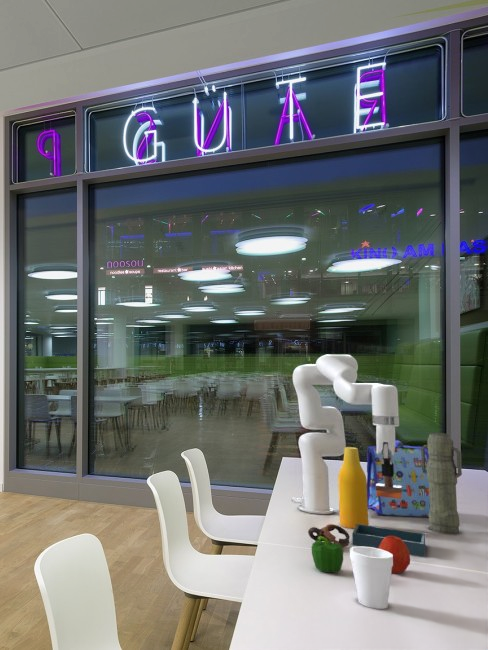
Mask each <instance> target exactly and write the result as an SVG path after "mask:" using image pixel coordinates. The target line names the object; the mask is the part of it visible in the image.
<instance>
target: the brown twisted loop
mask: <svg viewBox="0 0 488 650" xmlns="http://www.w3.org/2000/svg"><path fill="white" fill-rule="evenodd" d="M335 530H337V532H338V534H342V535H344V536H345V538H338V540H336V537H337V536H335V535H334V534H333V533H332V532H333V531H335ZM307 533H308V536H309V538H310V539H311V540H313V541H314V542H316V541H317V540H319V539H318V538H317V537H319V536H322V537H325V538H326V539H327V541H330V542H332V543H334V544H339V545H341V547H342V549H345V548H347V547H348V546H349V545H350V534H349V532H348V531H347V530H346V529H345V528H344V527H342V526H340V525H336V524H333V523H331V524H330V523H329V524H326V525H325V526H323V527H322V528H318V527H315V526H313V527H310V528H309V529H308V531H307ZM315 534H316V535H315ZM320 541H322V542H324V540H323V539H321V540H320Z"/></svg>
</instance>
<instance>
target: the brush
mask: <svg viewBox="0 0 488 650" xmlns="http://www.w3.org/2000/svg"><path fill="white" fill-rule="evenodd" d="M376 496H380V497H389V498H398V499H401V498H402V486H399V485H393V477H388V476H384V484H380V483H377V484H376Z"/></svg>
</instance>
